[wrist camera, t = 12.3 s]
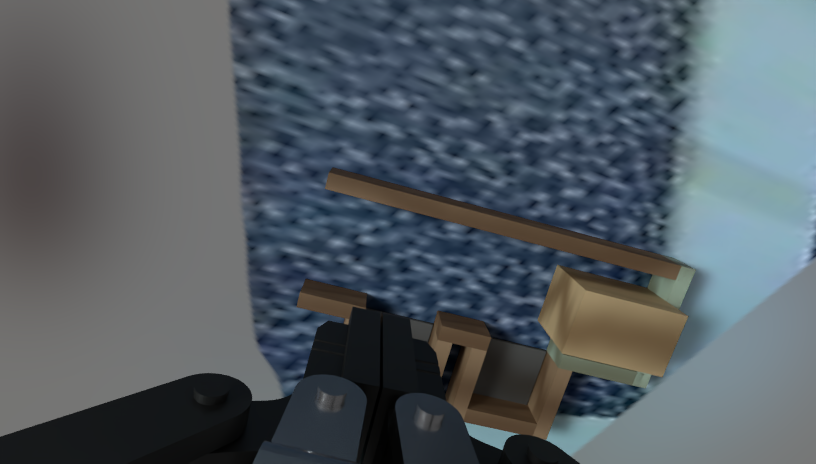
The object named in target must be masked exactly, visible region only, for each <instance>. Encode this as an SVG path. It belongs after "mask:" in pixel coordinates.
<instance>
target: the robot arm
mask: <svg viewBox="0 0 816 464" xmlns="http://www.w3.org/2000/svg"><path fill="white" fill-rule="evenodd" d="M438 365H439V364H438V359H437V354H436V352H435V351H434V350H433V348H432V347H431V346H430V345H429V344H428V343H427V341H423V340H418V339H414V338H412V331H411V323H410V319H409V318H404V317H400V316H395V315H390V314H386V313H382V314H381V317H380V312H376V311H371V310H367V309H362V308H357V307H352V311H351V315H350V319H349V323H348V325H347V324H342V323H337V322H332V321H327V322H326V323H324V324H323V325H321V326H320V327H318V328H317V332H316V335H315V339H314V342H313V346H312V350H311V353H310V356H309V360H308V364H307V367H306V371H305V374H304V378H303V379H302V380H301V381H300V382H299V383H298V384H297V385H296V387H295V389H294V392H293V394H291V395H290V396H287V397H285V398H281V399H278V400H269V401H252V394H251V391H250V389H249V388H248V387H247V386H246V385H245V384H244V383H243V382H241V381H240V380H238V379H235V378H233V377H230V376H227V375H222V374H213V373H204V374H196V375H191V376H188V377H184V378H182V379H178V380H175V381H172V382H169V383H166V384H163V385H160V386H157V387H153V388H150V389H147V390H144V391H141V392H138V393H135V394H132V395H129V396H125V397H123V398H119V399H116V400H113V401H110V402H107V403H104V404H101V405H98V406H94V407H91V408H88V409H85V410H82V411H79V412H76V413H73V414H70V415H66V416H63V417H61V418H57V419H54V420H51V421H48V422H45V423H42V424H39V425H35V426H32V427H29V428H26V429H23V430H20V431H17V432H14V433H11V434H8V435H4V436H1V437H0V464H580V463H578V462H577V461H576V460H574V459H573V458H572V457H571V456H569V455H568V454H567V453H565V452H564V451H563V450H561V449H560V448H558V447H557V446H555V445H554V444H552V443H550V442H548V441H546V440H544V439H541V438H539V437H535V436H532V435H524V434H519V435H514V436H511V437H509V438H508V439H507V440H506V442H505V445H504V447H503V450H500V449H498V448H495V447H493V446H490V445H488V444H486V443H483V442H481V441H479V440H477V439H475V438H473V437H471V436H469V434H468V431H467V428H466V425H465V423H464V420H463V418H462V416H461V414H460V413H459V411H458V410H457V409H456V408H455V407H454V406H452V405H451V404H450V403H448V402H447V401H446V397H445V392H444V387H443V383H442V378H441V376H440V374H441V373H440V368H439V366H438Z"/></svg>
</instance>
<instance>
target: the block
mask: <svg viewBox="0 0 816 464" xmlns="http://www.w3.org/2000/svg"><path fill="white" fill-rule="evenodd" d="M687 318H688V316H687V315H686V314H684V313H683V312H681V311H680V310H678V309H677V308H675V307H674V306H673V305H671V304H670V303H668V302H667V301H665V300H664V299H662V298H661V297H659V296H658V295H656V294H655V293H654V292H652V291H651V290H649V289H648V288H645V287H641V286H638V285H634V284H630V283H626V282H622V281H618V280H614V279H610V278H606V277H603V276H599V275H595V274H591V273H587V272H583V271H579V270H575V269H572V268H568V267H564V266H560V265H557V268H556V270H555V273H554V276H553V279H552V282H551V284H550V287H549V290H548V293H547V296H546V298H545V301H544V304H543V307H542V310H541V312H540V315H539V318H538V321H539V323H540V324H541V325H542V327H543V328H544V329H545V331H546V332H547V334H548V335H549V336H550V338H551V339H552V340H553V342H554V343H555V344H556V346H557V347H558V349H559V350H560V351H561V353H562V354H566V355H571V356H575V357H579V358H583V359H588V360H592V361H596V362H600V363H604V364H609V365H613V366H617V367H621V368H626V369H630V370H634V371H638V372H642V373H647V374H651V375H655V376H659V377H663V374H664V372H665V370H666V367H667V365H668V363H669V360H670V358H671V356H672V353H673V351H674V349H675V346H676V344H677V342H678V339H679V337H680V335H681V332H682V330H683V328H684V325H685V323H686V321H687Z"/></svg>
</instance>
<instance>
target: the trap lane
mask: <svg viewBox="0 0 816 464" xmlns="http://www.w3.org/2000/svg"><path fill="white" fill-rule="evenodd" d="M325 189H328V190H331V191H335V192H339V193H343V194H347V195H351V196H354V197H358V198H362V199H366V200H370V201H374V202H377V203H381V204H385V205H389V206H393V207H396V208H400V209H404V210H408V211H412V212H416V213H419V214H423V215H427V216H431V217H435V218H439V219H442V220H446V221H450V222H454V223H458V224H462V225H465V226H469V227H473V228H477V229H481V230H484V231H488V232H492V233H496V234H500V235H504V236H507V237H511V238H515V239H519V240H523V241H527V242H530V243H534V244H538V245H542V246H546V247H549V248H553V249H557V250H561V251H565V252H569V253H572V254H576V255H580V256H584V257H588V258H592V259H595V260H599V261H603V262H607V263H611V264H615V265H618V266H622V267H626V268H630V269H634V270H637V271H641V272H645V273H649V274H653V275H652V278H651V280H650V283H649V285H648V287H647V288H648V289H649V290H651V291H652V292H654V293H655V294H656V295H658V296H659V297H661V298H662V299H664V300H665V301H667V302H668V303H670V304H671V305H673V306H674V307H675V308H677V309H678V310H679V308H680V306H681V304H682V301H683V299H684V297H685V294H686V292H687V290H688V287H689V285H690V282H691V280H692V278H693V275H694V273H695V271H696V270H695V269H693V268H691V267H690V266H688V265H686V264H684V263H682V262H680V261H678V260H676V259H674V258H671V257H667V256H663V255H659V254H656V253H652V252H648V251H645V250H641V249H637V248H633V247H630V246H626V245H622V244H618V243H615V242H611V241H607V240H603V239H600V238H596V237H592V236H588V235H585V234H581V233H577V232H573V231H570V230H566V229H562V228H558V227H555V226H551V225H547V224H543V223H540V222H536V221H532V220H528V219H525V218H521V217H517V216H513V215H510V214H506V213H502V212H498V211H495V210H491V209H487V208H483V207H480V206H476V205H472V204H468V203H465V202H461V201H457V200H453V199H450V198H446V197H442V196H438V195H435V194H431V193H427V192H423V191H420V190H416V189H412V188H408V187H405V186H401V185H397V184H393V183H390V182H386V181H382V180H378V179H375V178H371V177H367V176H363V175H360V174H356V173H352V172H348V171H345V170H341V169H337V168H332V169H331V171H330V172H329V175H328V179H327V183H326V187H325ZM366 298H367V293H363V292H358V291H354V290H350V289H346V288H342V287H338V286H333V285H329V284H325V283H321V282H317V281H313V280H308V279H306V280H305V282H304V285H303V287H302V289H301V291H300V295H299V299H298V303H297V307H299V308H303V309H307V310H312V311H316V312H320V313H325V314H329V315H333V316H337V317H342V318H345V320H344V324H347V325H348V323H349V319H350V315H351V311H352V307H357V308H362V309H367V310H371V311H376V312H380V317H381V314H382V313H386V314H390V315H395V314H391V313H387V312H382V311H378V310H374V309H370V308H366ZM395 316H399V315H395ZM400 317H403V316H400ZM404 318H408V317H404ZM409 319H410V323H411V331H412V338H414V339H418V340H423V341H427V343H428V344H429V345H430V346H431V347H432V348H433V350H434V351H435V352H436V354H437V359H438V364H439V365H438V366H439V368H440V373H441V374H440V376H441V378H442V375H443V371H444V368H445V365H446V362H447V359H448V356H449V353H450V350H451V347H452V343H453V344H458V345H461V348H460V351H459V354H458V357H457V360H456V363H455V366H454V369H453V372H452V376H451V379H450V382H449V385H448V388H447V391H446V394H445V397H446V401H447V402H448V403H450V404H451V405H452V406H454V407H455V408H456V409H457V410H458V411H459V413H460V414H461V416H462V418H463V420H464V422H466V423H471V424H476V425H480V426H485V427H490V428H494V429H499V430H504V431H508V432H513V433H517V434H524V435H532V436H535V437H539V438H541V439H545V440H546V439H547V436H548V434H549V431H550V428H551V426H552V423H553V421H554V418H555V415H556V413H557V410H558V407H559V405H560V402H561V400H562V397H563V394H564V392H565V389H566V387H567V384H568V381H569V379H570V376H571V374H572V371H573V372H578V373H582V374H586V375H590V376H595V377H599V378H603V379H608V380H612V381H616V382H620V383H625V384H629V385H633V386H638V387H642V388H646V386H647V384H648V382H649V379H650V377H651V374H647V373H642V372H638V371H634V370H630V369H626V368H621V367H617V366H613V365H609V364H604V363H600V362H596V361H592V360H588V359H583V358H579V357H575V356H571V355H566V354H562V353H561V351H560V350H559V349H558V347H557V346H556V344H555V343H554V342H553V340H552V339H550V342H549V345H548V347H547V350H543V349H539V348H534V347H530V346H526V345H522V344H517V343H513V342H509V341H505V340H501V339H496V338H492V337H491V336H490V334H489V331H488V329H487V327H486V325H485V323H484V322H483V321H479V320H475V319H471V318H467V317H463V316H458V315H454V314H450V313H446V312H442V311H437V315H436V318H435V321H434V324H433V323H429V322H425V321H420V320H416V319H412V318H409ZM432 326H433V328H432ZM431 330H432V331H431ZM430 333H431V334H430ZM429 336H430V337H429ZM428 339H429V341H428Z"/></svg>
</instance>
